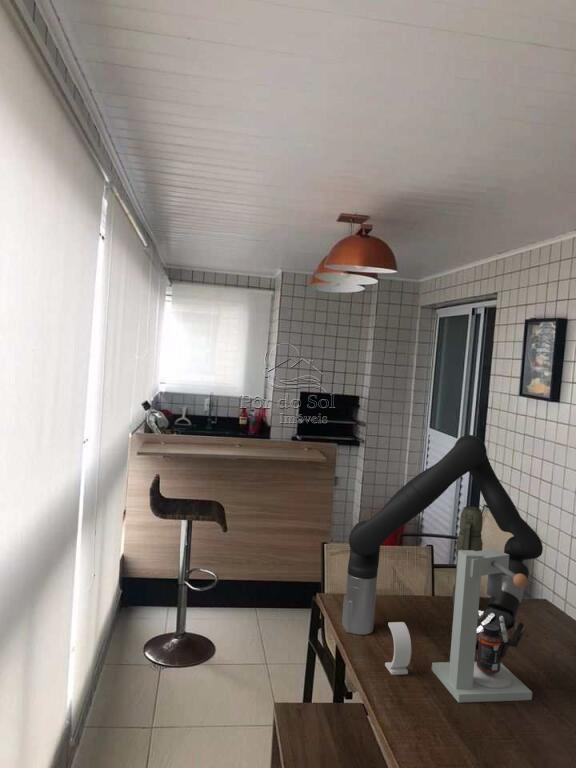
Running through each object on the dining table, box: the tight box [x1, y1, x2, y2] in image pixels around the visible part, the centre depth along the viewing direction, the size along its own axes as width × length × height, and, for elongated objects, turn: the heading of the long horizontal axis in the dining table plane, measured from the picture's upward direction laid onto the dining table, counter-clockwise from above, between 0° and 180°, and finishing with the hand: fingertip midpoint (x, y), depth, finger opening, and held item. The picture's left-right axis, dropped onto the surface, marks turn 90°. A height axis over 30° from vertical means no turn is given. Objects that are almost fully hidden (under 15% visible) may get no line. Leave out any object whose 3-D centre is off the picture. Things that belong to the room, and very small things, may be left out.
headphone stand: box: [384, 621, 412, 676], centre depth 162 cm, size 5×6×12 cm
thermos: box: [451, 505, 484, 606], centre depth 212 cm, size 9×12×35 cm
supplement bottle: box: [476, 624, 503, 674], centre depth 158 cm, size 6×6×11 cm
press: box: [431, 548, 533, 704], centre depth 152 cm, size 20×26×36 cm
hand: (487, 652), depth 157 cm, fingers closed on supplement bottle, 6 cm apart
